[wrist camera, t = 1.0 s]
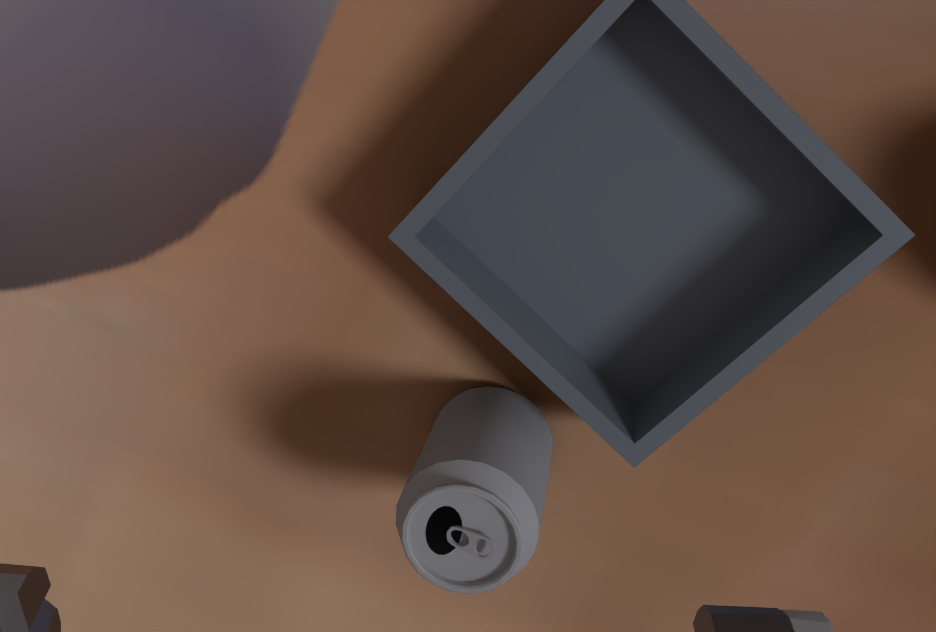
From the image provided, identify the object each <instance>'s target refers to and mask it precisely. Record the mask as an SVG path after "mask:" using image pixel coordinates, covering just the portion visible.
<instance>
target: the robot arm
mask: <svg viewBox="0 0 936 632" xmlns="http://www.w3.org/2000/svg"><path fill="white" fill-rule="evenodd" d="M50 586H51V584H50V581H49V578H48V575H47V572H46V569H45V567H36V566H24V565H13V564H1V563H0V632H61V621H60V617H59V613H58V609H57V608H56V607H54V606H53V605H52V604H51V603H49V602H48V601H47V600H46V599H44V598H45V596H46V594H47V592H48V590H49V588H50ZM693 627H694V631H695V632H834V631H833V629H832V626H831V624H830V622H829V619H828V618H827V617H826V616H825V615H824V614H823V613H822V612H816V611H799V610H779V609H778V608H759V607H737V606H715V605H703V606H701V607H700V608H699V609H698V610H697V613H696V616H695V618H694V621H693Z"/></svg>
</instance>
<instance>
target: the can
mask: <svg viewBox="0 0 936 632" xmlns="http://www.w3.org/2000/svg"><path fill="white" fill-rule="evenodd" d="M552 449H553V439H552V435H551V431H550V427H549V424H548V422H547V421H546V419H545V418H544V416H543V415H542V413H541V411H540V410H539V409H538V408H537V407H536V406H535V405H534V404H532V403H531V402H530V401H529V400H528V399H527V398H525V397H524V396H522V395H520V394H517V393H515V392H513V391H510V390H508V389H505V388H497V387H489V386H486V387H480V388H474V389H468V390H466V391H464V392H462V393H461V394H459V395H457V396H455V397H453V398H452V399H451V400H450V401H449V402H448V403H447V404H446V405H445V406H444V407H443V408H442V409H441V410H440V412H439V414H438V416H437V418H436V421H435V423H434V425H433V427H432V429H431V431H430V433H429V436H428V438H427V440H426V442H425V444H424V446H423V448H422V450H421V453H420V455H419V457H418V459H417V461H416V463H415V465H414V467H413V470H412V472H411V474H410V476H409V478H408V480H407V482H406V484H405V487H404V489H403V491H402V494H401V496H400V498H399V501H398V503H397V510H396V526H397V530H398V533H399V536H400V539H401V543H402V545H403V548H404V551H405V554H406V557H407V558H408V560H409V561H410V563H411V564H412V566H413V567H414V568H415V570H416V571H417V572H418V573H419V574H420V575H422V576H423V577H424V578H425V579H427V580H428V581H429V582H430V583H432V584H434V585H436V586H439V587H441V588H443V589H445V590H448V591H452V592H459V593H465V594H471V593H479V592H486V591H489V590H491V589H493V588H496V587H498V586H500V585H502V584H503V583H504V582H506V581H507V580H508V579H509V578H511V577H514V576H515V575H516V574H517V573H518V572H519V571H520V570H521V569H522V568H523V567H524V566H526V565H527V564H528V563H529V561H530V559H531V557H532V555H533V553H534V551H535V549H536V547H537V544H538V538H539V531H540V525H541V519H542V513H543V507H544V501H545V495H546V489H547V483H548V477H549V471H550V465H551V459H552Z"/></svg>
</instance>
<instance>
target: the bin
mask: <svg viewBox="0 0 936 632" xmlns="http://www.w3.org/2000/svg"><path fill="white" fill-rule="evenodd" d="M914 236H915V234H914V233H913V232H912V231H911V230H910V229H909V228H908V227H907V226H906V225H905V224H904V223H903V222H902V221H901V220H900V219H899V218H898V217H897V216H896V215H895V214H894V213H893V212H892V211H891V210H890V208H889V207H888V206H887V205H886V204H885V203H884V202H883V201H882V200H881V199H880V198H879V197H878V196H877V195H876V194H875V193H874V192H873V191H872V190H871V189H870V188H869V187H868V186H867V185H866V184H865V183H864V182H863V181H862V180H861V179H860V178H859V177H858V176H857V175H856V174H855V173H854V172H853V171H852V170H851V169H850V168H849V167H848V166H847V165H846V164H845V163H844V162H843V161H842V160H841V159H840V158H839V157H838V156H837V155H836V153H835V152H834V151H833V150H832V149H831V148H830V147H829V146H828V145H827V144H826V143H825V142H824V141H823V140H822V139H821V138H820V137H819V136H818V135H817V134H816V133H815V132H814V131H813V130H812V129H811V128H810V127H809V126H808V125H807V124H806V123H805V122H804V121H803V120H802V119H801V118H800V117H799V116H798V115H797V114H796V113H795V112H794V111H793V110H792V109H791V108H790V107H789V106H788V105H787V104H786V103H785V102H784V101H783V100H782V98H781V97H780V96H779V95H778V94H777V93H776V92H775V91H774V90H773V89H772V88H771V87H770V86H769V85H768V84H767V83H766V82H765V81H764V80H763V79H762V78H761V77H760V76H759V75H758V74H757V73H756V72H755V71H754V70H753V69H752V68H751V67H750V66H749V65H748V64H747V63H746V62H745V61H744V60H743V59H742V58H741V57H740V56H739V55H738V54H737V53H736V52H735V51H734V50H733V49H732V48H731V47H730V46H729V45H728V44H727V42H726V41H725V40H724V39H723V38H722V37H721V36H720V35H719V34H718V33H717V32H716V31H715V30H714V29H713V28H712V27H711V26H710V25H709V24H708V23H707V22H706V21H705V20H704V19H703V18H702V17H701V16H700V15H699V14H698V13H697V12H696V11H695V10H694V9H693V8H692V7H691V6H690V5H689V4H688V3H687V2H686V1H685V0H604V1H603V2H602V3H601V5H600V6H599V7H598V8H597V9H596V10H595V11H594V12H593V13H592V14H591V15H590V17H589V18H588V19H587V20H586V21H585V22H584V23H583V24H582V25H581V26H580V27H579V29H578V30H577V31H576V32H575V33H574V34H573V35H572V36H571V37H570V38H569V39H568V41H567V42H566V43H565V44H564V45H563V46H562V47H561V48H560V49H559V50H558V51H557V53H556V54H555V55H554V56H553V57H552V58H551V59H550V60H549V61H548V62H547V63H546V65H545V66H544V67H543V68H542V69H541V70H540V71H539V72H538V73H537V74H536V75H535V77H534V78H533V79H532V80H531V81H530V82H529V83H528V84H527V85H526V86H525V87H524V89H523V90H522V91H521V92H520V93H519V94H518V95H517V96H516V97H515V98H514V99H513V101H512V102H511V103H510V104H509V105H508V106H507V107H506V108H505V109H504V110H503V111H502V113H501V114H500V115H499V116H498V117H497V118H496V119H495V120H494V121H493V122H492V123H491V125H490V126H489V127H488V128H487V129H486V130H485V131H484V132H483V133H482V134H481V135H480V137H479V138H478V139H477V140H476V141H475V142H474V143H473V144H472V145H471V146H470V147H469V149H468V150H467V151H466V152H465V153H464V154H463V155H462V156H461V157H460V158H459V159H458V161H457V162H456V163H455V164H454V165H453V166H452V167H451V168H450V169H449V170H448V171H447V173H446V174H445V175H444V176H443V177H442V178H441V179H440V180H439V181H438V182H437V183H436V185H435V186H434V187H433V188H432V189H431V190H430V191H429V192H428V193H427V194H426V196H425V197H424V198H423V199H422V200H421V201H420V202H419V203H418V204H417V205H416V206H415V208H414V209H413V210H412V211H411V212H410V213H409V214H408V215H407V216H406V217H405V218H404V220H403V221H402V222H401V223H400V224H399V225H398V226H397V227H396V228H395V229H394V230H393V232H392V233H391V234H390V235H389V236H388V238H389V239H390V240H391V241H392V242H393V243H395V244H396V245H397V246H398V247H399V248H400V249H401V250H402V251H403V252H404V253H405V254H406V255H407V256H408V257H409V258H411V259H412V260H413V261H414V262H415V263H416V264H417V265H418V266H419V267H420V268H421V269H422V270H423V271H424V272H426V273H427V274H428V275H429V276H430V277H431V278H432V279H433V280H434V281H435V282H436V283H437V284H438V285H439V286H440V287H442V288H443V289H444V290H445V291H446V292H447V293H448V294H449V295H450V296H451V297H452V298H453V299H454V300H455V301H457V302H458V303H459V304H460V305H461V306H462V307H463V308H464V309H465V310H466V311H467V312H468V313H469V314H470V315H471V316H473V317H474V318H475V319H476V320H477V321H478V322H479V323H480V324H481V325H482V326H483V327H484V328H485V329H486V330H488V331H489V332H490V333H491V334H492V335H493V336H494V337H495V338H496V339H497V340H498V341H499V342H500V343H501V344H502V345H504V346H505V347H506V348H507V349H508V350H509V351H510V352H511V353H512V354H513V355H514V356H515V357H516V358H517V359H519V360H520V361H521V362H522V363H523V364H524V365H525V366H526V367H527V368H528V369H529V370H530V371H531V372H532V373H533V374H535V375H536V376H537V377H538V378H539V379H540V380H541V381H542V382H543V383H544V384H545V385H546V386H547V387H548V388H550V389H551V390H552V391H553V392H554V393H555V394H556V395H557V396H558V397H559V398H560V399H561V400H562V401H563V402H564V403H566V404H567V405H568V406H569V407H570V408H571V409H572V410H573V411H574V412H575V413H576V414H577V415H578V416H579V417H581V418H582V419H583V420H584V421H585V422H586V423H587V424H588V425H589V426H590V427H591V428H592V429H593V430H594V431H595V432H597V433H598V434H599V435H600V436H601V437H602V438H603V439H604V440H605V441H606V442H607V443H608V444H609V445H610V446H612V447H613V448H614V449H615V450H616V451H617V452H618V453H619V454H620V455H621V456H622V457H623V458H624V459H625V460H626V461H628V462H629V463H630V464H631V465H632V466H633V467H636V466H637V465H638V464H639V463H640V462H642V461H643V460H644V459H645V458H647V457H648V456H649V455H650V454H651V453H653V452H654V451H655V450H656V449H657V448H659V447H660V446H661V445H662V444H663V443H665V442H666V441H667V440H668V439H670V438H671V437H672V436H673V435H674V434H676V433H677V432H678V431H679V430H680V429H682V428H683V427H684V426H685V425H686V424H688V423H689V422H690V421H691V420H693V419H694V418H695V417H696V416H697V415H699V414H700V413H701V412H702V411H703V410H705V409H706V408H707V407H708V406H709V405H711V404H712V403H713V402H714V401H715V400H717V399H718V398H719V397H720V396H722V395H723V394H724V393H725V392H726V391H728V390H729V389H730V388H731V387H732V386H734V385H735V384H736V383H737V382H738V381H740V380H741V379H742V378H743V377H745V376H746V375H747V374H748V373H749V372H751V371H752V370H753V369H754V368H755V367H757V366H758V365H759V364H760V363H761V362H763V361H764V360H765V359H766V358H768V357H769V356H770V355H771V354H772V353H774V352H775V351H776V350H777V349H778V348H780V347H781V346H782V345H783V344H784V343H786V342H787V341H788V340H789V339H790V338H792V337H793V336H794V335H795V334H797V333H798V332H799V331H800V330H801V329H803V328H804V327H805V326H806V325H807V324H809V323H810V322H811V321H812V320H813V319H815V318H816V317H817V316H818V315H820V314H821V313H822V312H823V311H824V310H826V309H827V308H828V307H829V306H830V305H832V304H833V303H834V302H835V301H836V300H838V299H839V298H840V297H841V296H843V295H844V294H845V293H846V292H847V291H849V290H850V289H851V288H852V287H853V286H855V285H856V284H857V283H858V282H859V281H861V280H862V279H863V278H864V277H866V276H867V275H868V274H869V273H870V272H872V271H873V270H874V269H875V268H876V267H878V266H879V265H880V264H881V263H882V262H884V261H885V260H886V259H887V258H888V257H890V256H891V255H892V254H893V253H895V252H896V251H897V250H898V249H899V248H901V247H902V246H903V245H904V244H905V243H907V242H908V241H909V240H910V239H911V238H913V237H914Z"/></svg>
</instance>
